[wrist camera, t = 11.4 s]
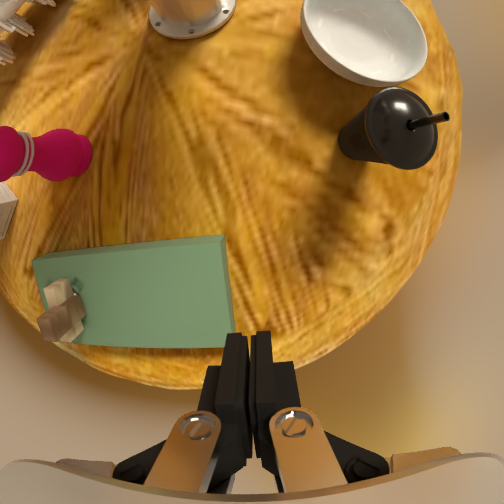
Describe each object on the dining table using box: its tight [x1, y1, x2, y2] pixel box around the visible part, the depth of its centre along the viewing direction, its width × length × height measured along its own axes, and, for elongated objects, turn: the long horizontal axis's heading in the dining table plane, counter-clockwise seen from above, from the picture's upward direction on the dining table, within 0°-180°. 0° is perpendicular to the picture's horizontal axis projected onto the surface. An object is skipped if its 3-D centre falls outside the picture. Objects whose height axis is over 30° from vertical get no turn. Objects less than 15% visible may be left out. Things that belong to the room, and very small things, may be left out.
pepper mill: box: [0, 126, 92, 183], centre depth 25 cm, size 7×7×20 cm
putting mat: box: [32, 235, 236, 348], centre depth 37 cm, size 14×30×4 cm, turn 95°
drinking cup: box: [338, 87, 449, 170], centre depth 24 cm, size 8×8×20 cm
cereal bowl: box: [300, 0, 427, 87], centre depth 26 cm, size 17×17×7 cm
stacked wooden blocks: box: [36, 278, 86, 343], centre depth 31 cm, size 8×3×8 cm, turn 5°
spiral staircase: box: [0, 0, 56, 66], centre depth 18 cm, size 18×18×25 cm
